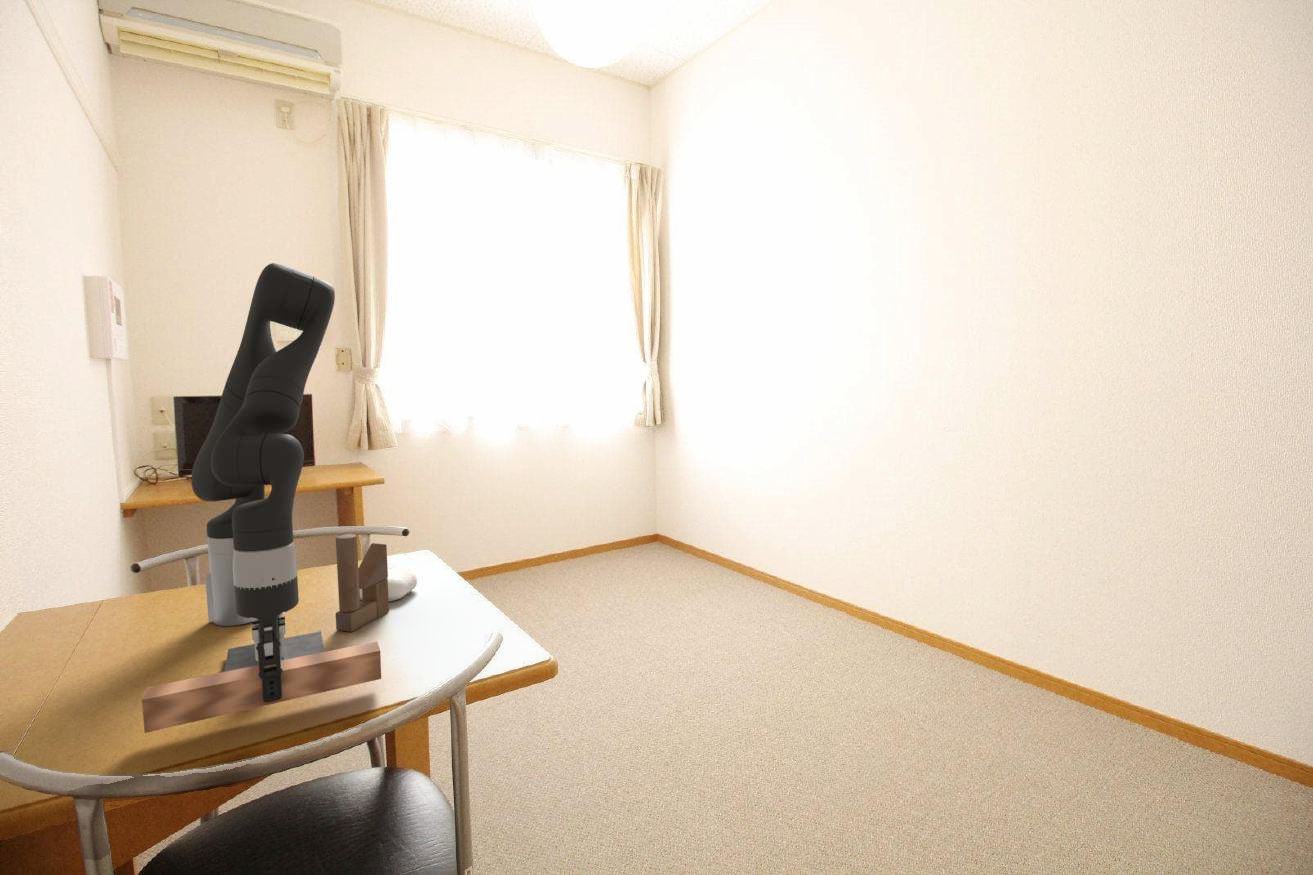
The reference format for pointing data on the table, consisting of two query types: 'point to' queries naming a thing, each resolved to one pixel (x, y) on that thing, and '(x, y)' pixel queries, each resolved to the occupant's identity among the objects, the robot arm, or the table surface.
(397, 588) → the earbud case
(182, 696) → the bar
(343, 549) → the brown wooden block stack
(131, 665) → the table surface
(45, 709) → the table surface
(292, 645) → the stand
